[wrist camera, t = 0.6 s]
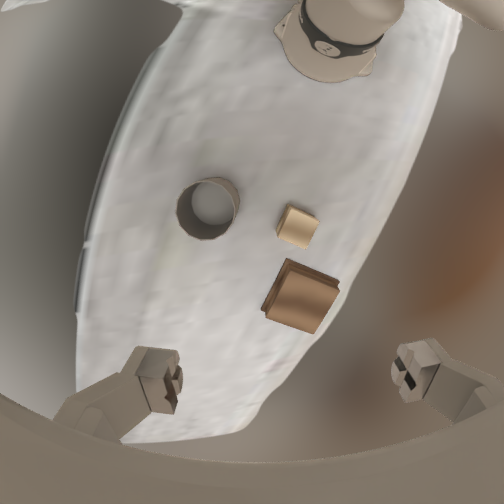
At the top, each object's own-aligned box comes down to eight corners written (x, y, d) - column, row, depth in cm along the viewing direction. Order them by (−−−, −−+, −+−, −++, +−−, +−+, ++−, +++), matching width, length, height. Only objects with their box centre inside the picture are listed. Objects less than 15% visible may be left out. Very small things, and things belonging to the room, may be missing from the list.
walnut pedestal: (286, 258, 49) (288, 266, 45) (338, 280, 50) (344, 289, 47) (260, 308, 52) (261, 319, 49) (311, 326, 54) (314, 337, 50)
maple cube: (287, 203, 46) (291, 208, 42) (313, 215, 47) (319, 221, 42) (275, 229, 48) (277, 237, 43) (301, 241, 48) (305, 249, 44)
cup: (234, 229, 48) (229, 245, 38) (189, 221, 47) (172, 235, 38) (243, 181, 45) (239, 185, 36) (195, 173, 45) (180, 176, 35)
